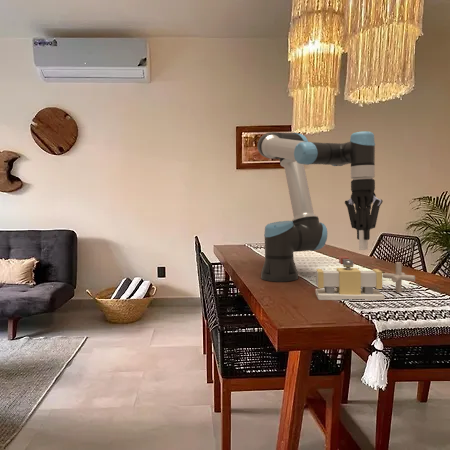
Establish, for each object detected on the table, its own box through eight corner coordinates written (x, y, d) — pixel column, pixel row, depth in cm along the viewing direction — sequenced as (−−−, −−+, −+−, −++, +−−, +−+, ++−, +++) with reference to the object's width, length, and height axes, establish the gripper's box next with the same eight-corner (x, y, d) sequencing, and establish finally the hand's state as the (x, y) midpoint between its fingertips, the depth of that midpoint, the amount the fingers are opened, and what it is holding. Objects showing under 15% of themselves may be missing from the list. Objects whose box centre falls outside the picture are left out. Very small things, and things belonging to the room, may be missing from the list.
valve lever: (338, 262, 132) (338, 256, 132) (347, 262, 132) (347, 256, 132) (344, 267, 121) (344, 261, 121) (354, 267, 121) (354, 261, 121)
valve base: (315, 293, 129) (315, 265, 128) (376, 293, 126) (376, 265, 125) (318, 299, 120) (318, 269, 119) (384, 300, 117) (384, 270, 117)
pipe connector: (387, 287, 135) (387, 259, 135) (418, 290, 129) (418, 261, 128) (378, 292, 128) (378, 263, 127) (410, 296, 121) (410, 265, 121)
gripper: (387, 177, 123) (387, 250, 124) (352, 180, 133) (353, 247, 134) (374, 177, 118) (375, 252, 119) (339, 180, 129) (340, 249, 130)
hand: (363, 249), depth 127 cm, fingers closed
